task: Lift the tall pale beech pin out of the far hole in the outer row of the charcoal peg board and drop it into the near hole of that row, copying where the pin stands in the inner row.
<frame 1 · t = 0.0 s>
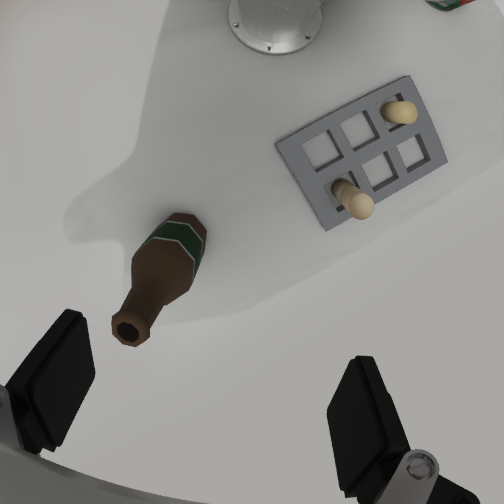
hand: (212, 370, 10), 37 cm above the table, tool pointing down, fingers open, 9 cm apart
beer bottle: (183, 235, 48), on the table
peg board: (366, 149, 42), on the table
beech pin: (341, 188, 45), resting in peg board
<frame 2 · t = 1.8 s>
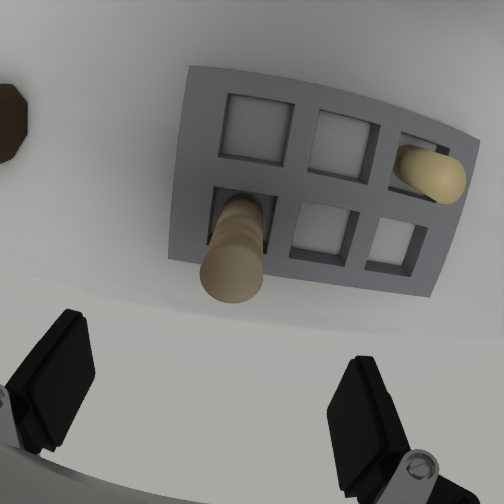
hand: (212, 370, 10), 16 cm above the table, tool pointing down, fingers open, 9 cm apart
beer bottle: (4, 122, 21), on the table
peg board: (329, 186, 23), on the table
beech pin: (242, 212, 24), resting in peg board
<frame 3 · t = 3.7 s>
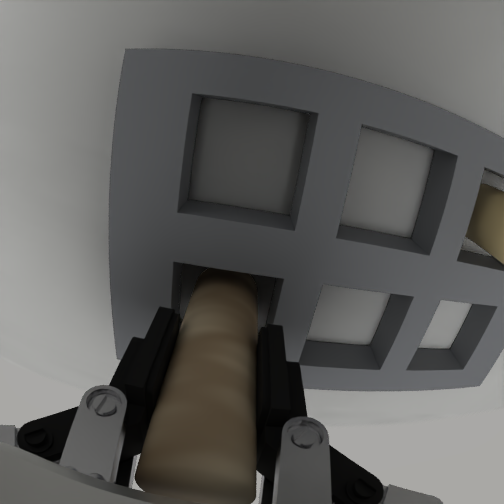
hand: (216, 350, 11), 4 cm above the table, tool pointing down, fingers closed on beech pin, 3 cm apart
peg board: (365, 250, 14), on the table
beech pin: (225, 292, 15), resting in peg board, touching gripper
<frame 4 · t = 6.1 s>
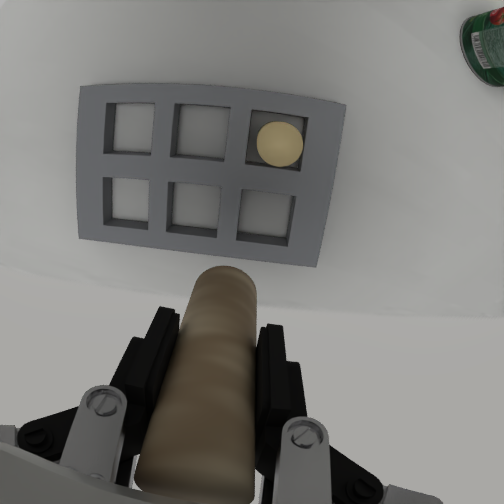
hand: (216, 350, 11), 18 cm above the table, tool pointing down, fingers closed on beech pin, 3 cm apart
peg board: (199, 168, 27), on the table
canned tomato: (486, 51, 21), on the table
beech pin: (225, 294, 15), point 14 cm above the table, touching gripper
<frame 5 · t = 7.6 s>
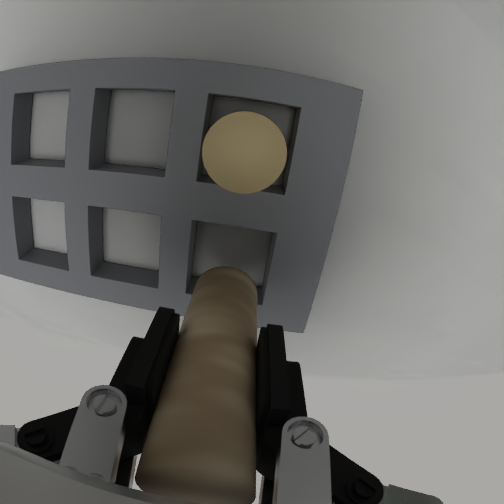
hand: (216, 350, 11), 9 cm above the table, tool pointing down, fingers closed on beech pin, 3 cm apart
peg board: (136, 183, 18), on the table
beech pin: (225, 294, 15), point 4 cm above the table, touching gripper
when the fingers open (5 cm above the table, at t = 8.8 s): beech pin stays where it is, resting in peg board.
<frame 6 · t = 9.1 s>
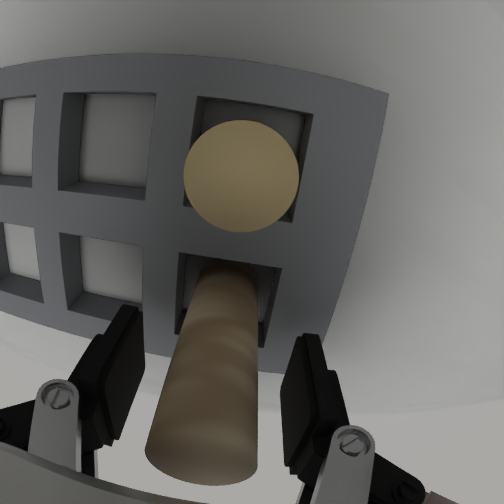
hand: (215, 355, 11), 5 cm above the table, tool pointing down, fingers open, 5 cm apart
peg board: (115, 205, 15), on the table
beech pin: (227, 284, 16), resting in peg board
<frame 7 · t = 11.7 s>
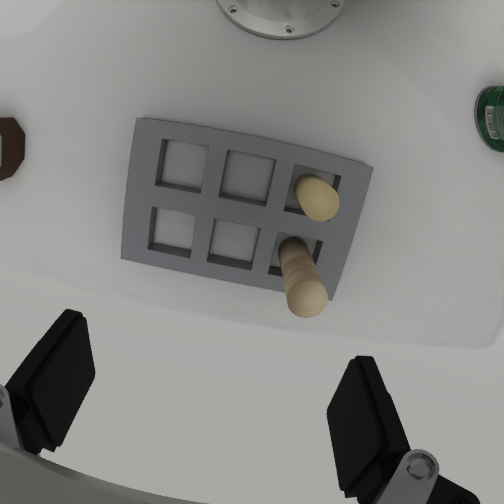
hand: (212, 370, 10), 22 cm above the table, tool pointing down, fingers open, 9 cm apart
beer bottle: (6, 147, 29), on the table
peg board: (240, 207, 31), on the table
canned tomato: (496, 118, 27), on the table
beech pin: (293, 251, 33), resting in peg board
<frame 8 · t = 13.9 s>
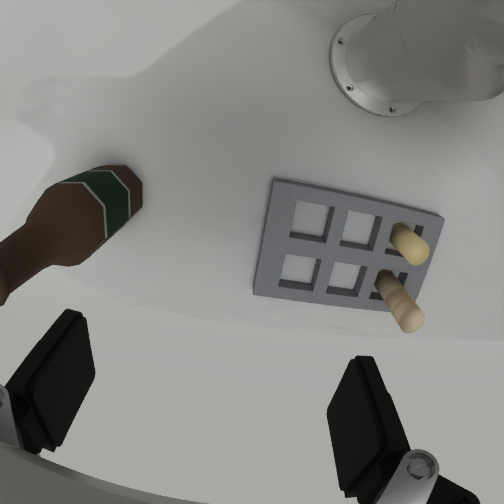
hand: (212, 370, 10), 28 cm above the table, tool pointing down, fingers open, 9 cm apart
beer bottle: (117, 192, 37), on the table
peg board: (349, 249, 39), on the table
beech pin: (383, 279, 41), resting in peg board
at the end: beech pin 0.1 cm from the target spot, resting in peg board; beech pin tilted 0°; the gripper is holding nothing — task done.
